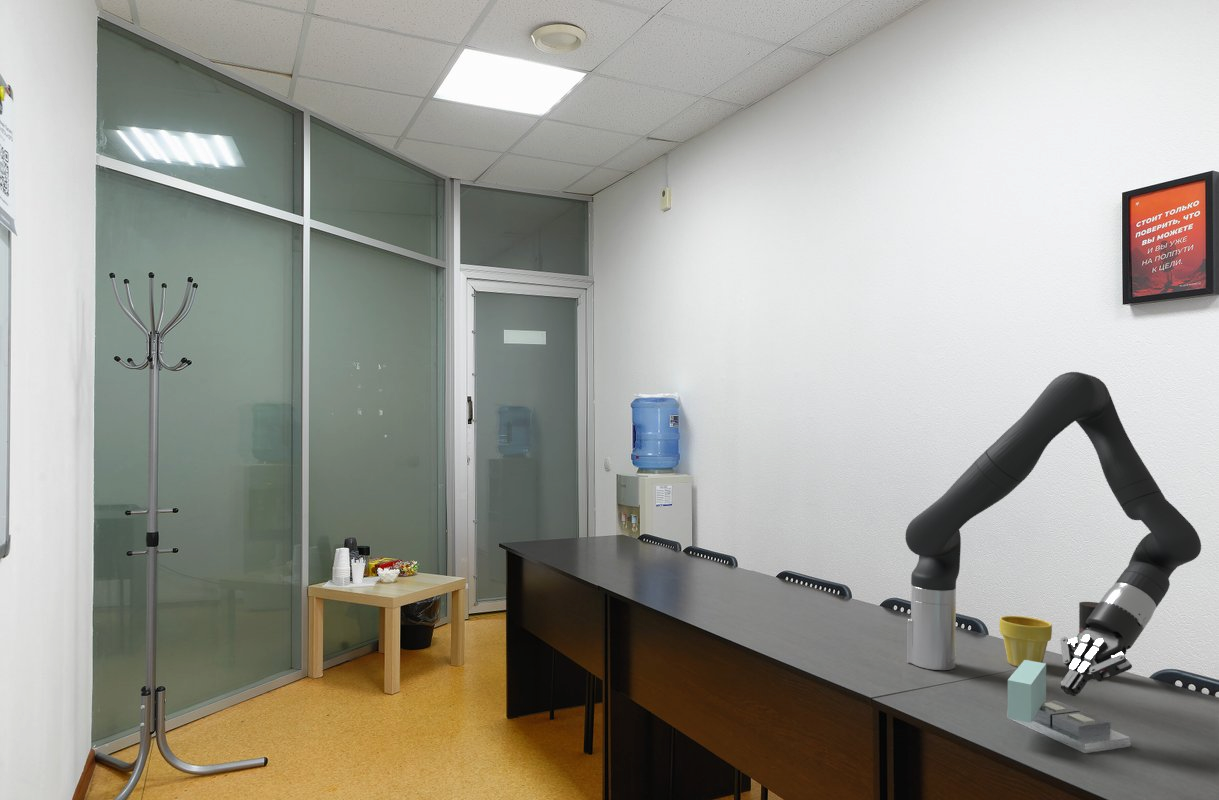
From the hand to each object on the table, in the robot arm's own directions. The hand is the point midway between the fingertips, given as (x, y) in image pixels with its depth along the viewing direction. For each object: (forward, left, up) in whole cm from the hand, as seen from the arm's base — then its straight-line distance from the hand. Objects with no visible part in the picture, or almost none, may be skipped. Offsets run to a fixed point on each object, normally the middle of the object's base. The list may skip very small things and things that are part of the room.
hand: (1067, 692), depth 135 cm
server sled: (-1, +4, -8) cm, 9 cm away
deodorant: (-4, +45, -8) cm, 46 cm away
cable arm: (-6, 0, -4) cm, 7 cm away
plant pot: (-17, +42, -8) cm, 46 cm away
